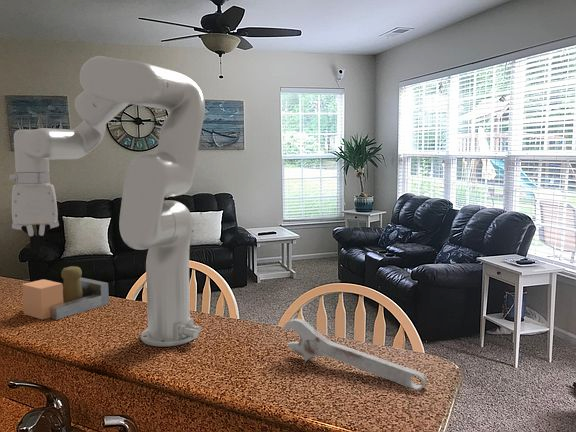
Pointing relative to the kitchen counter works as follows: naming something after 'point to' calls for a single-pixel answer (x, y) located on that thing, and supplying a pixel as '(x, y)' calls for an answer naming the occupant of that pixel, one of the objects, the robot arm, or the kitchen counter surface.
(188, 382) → the kitchen counter surface
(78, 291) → the cork
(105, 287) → the u-shaped metal bracket
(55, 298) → the block
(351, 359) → the wrench
